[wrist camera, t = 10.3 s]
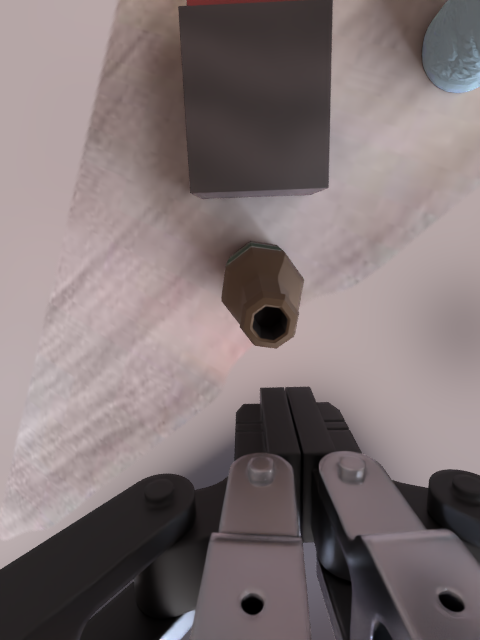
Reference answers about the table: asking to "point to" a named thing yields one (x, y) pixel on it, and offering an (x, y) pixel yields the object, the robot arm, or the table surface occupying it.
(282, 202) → the table surface
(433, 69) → the drinking glass
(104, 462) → the table surface
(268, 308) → the beer bottle
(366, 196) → the table surface
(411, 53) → the table surface
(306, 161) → the cabinet
